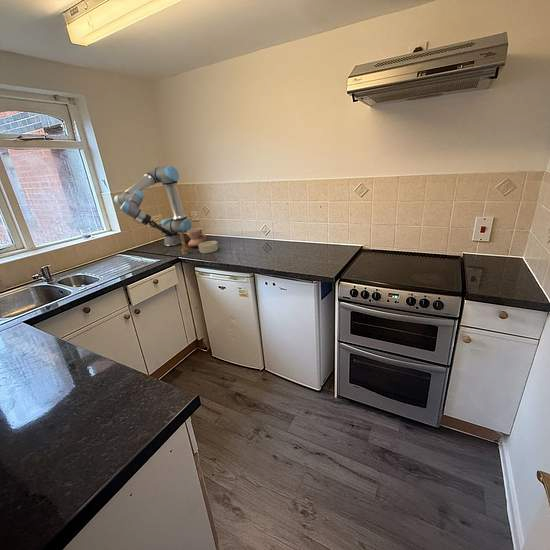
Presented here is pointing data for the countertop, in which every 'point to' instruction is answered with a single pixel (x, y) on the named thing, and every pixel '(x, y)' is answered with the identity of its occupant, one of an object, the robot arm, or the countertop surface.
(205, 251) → the bowl
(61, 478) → the countertop surface
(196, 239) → the ceramic jug
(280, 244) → the countertop surface
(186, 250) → the brush
